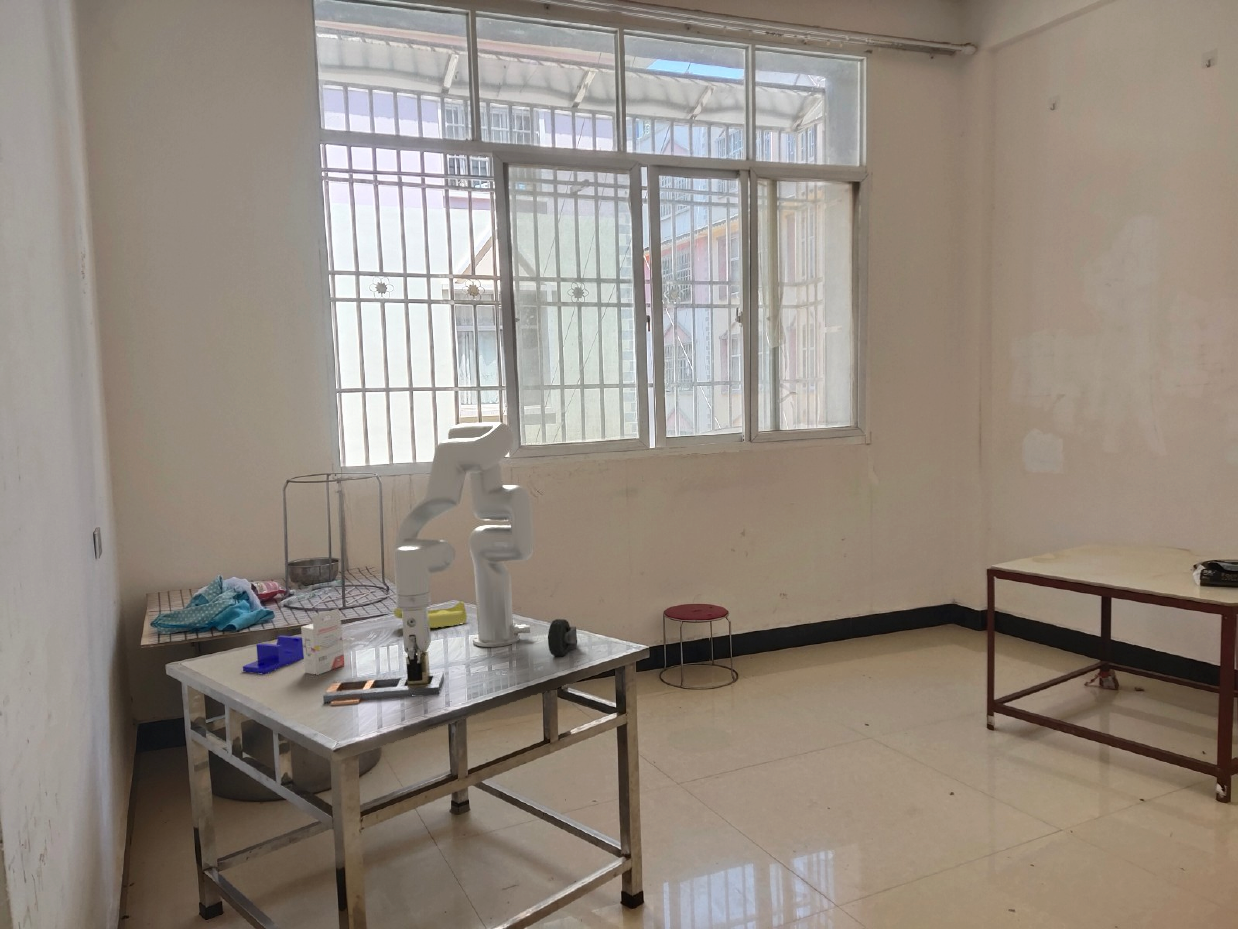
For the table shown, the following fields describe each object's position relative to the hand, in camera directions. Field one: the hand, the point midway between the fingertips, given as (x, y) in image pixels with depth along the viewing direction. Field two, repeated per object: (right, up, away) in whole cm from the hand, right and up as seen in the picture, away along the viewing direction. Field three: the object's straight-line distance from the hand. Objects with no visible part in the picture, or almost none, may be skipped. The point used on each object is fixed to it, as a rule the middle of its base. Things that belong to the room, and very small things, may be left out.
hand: (418, 673), depth 192 cm
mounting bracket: (-42, -4, +25) cm, 49 cm away
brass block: (0, -3, 0) cm, 3 cm away
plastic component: (-10, 0, +56) cm, 57 cm away
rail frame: (-7, -4, 0) cm, 8 cm away
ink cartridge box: (-28, -4, +18) cm, 33 cm away
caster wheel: (+32, 0, +23) cm, 40 cm away
